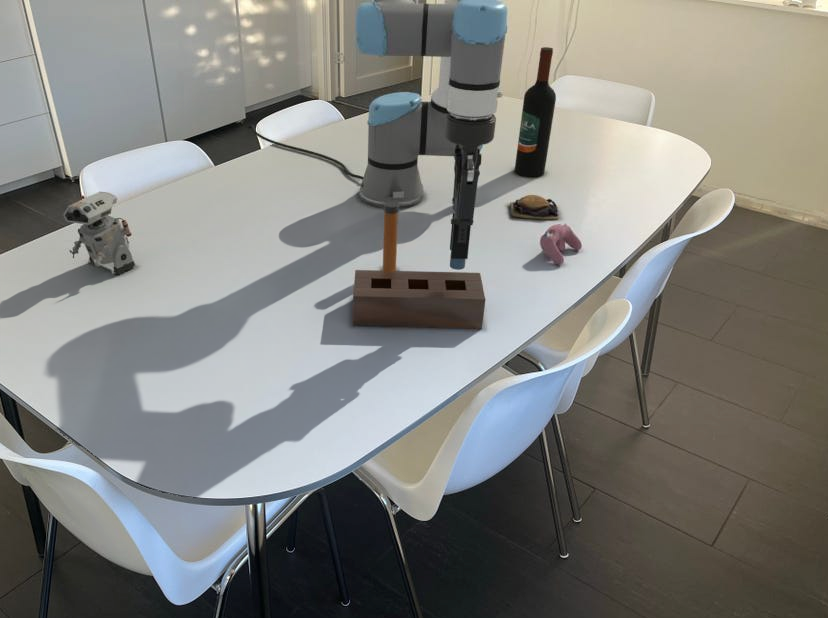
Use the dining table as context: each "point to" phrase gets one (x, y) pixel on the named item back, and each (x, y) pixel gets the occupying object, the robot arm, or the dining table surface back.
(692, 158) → the dining table surface
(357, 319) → the rack
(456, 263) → the smoke-blue tube
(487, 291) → the dining table surface
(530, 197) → the bread roll
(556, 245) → the video game controller
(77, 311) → the dining table surface
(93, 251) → the figurine
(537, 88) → the wine bottle
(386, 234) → the amber tube
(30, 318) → the dining table surface
